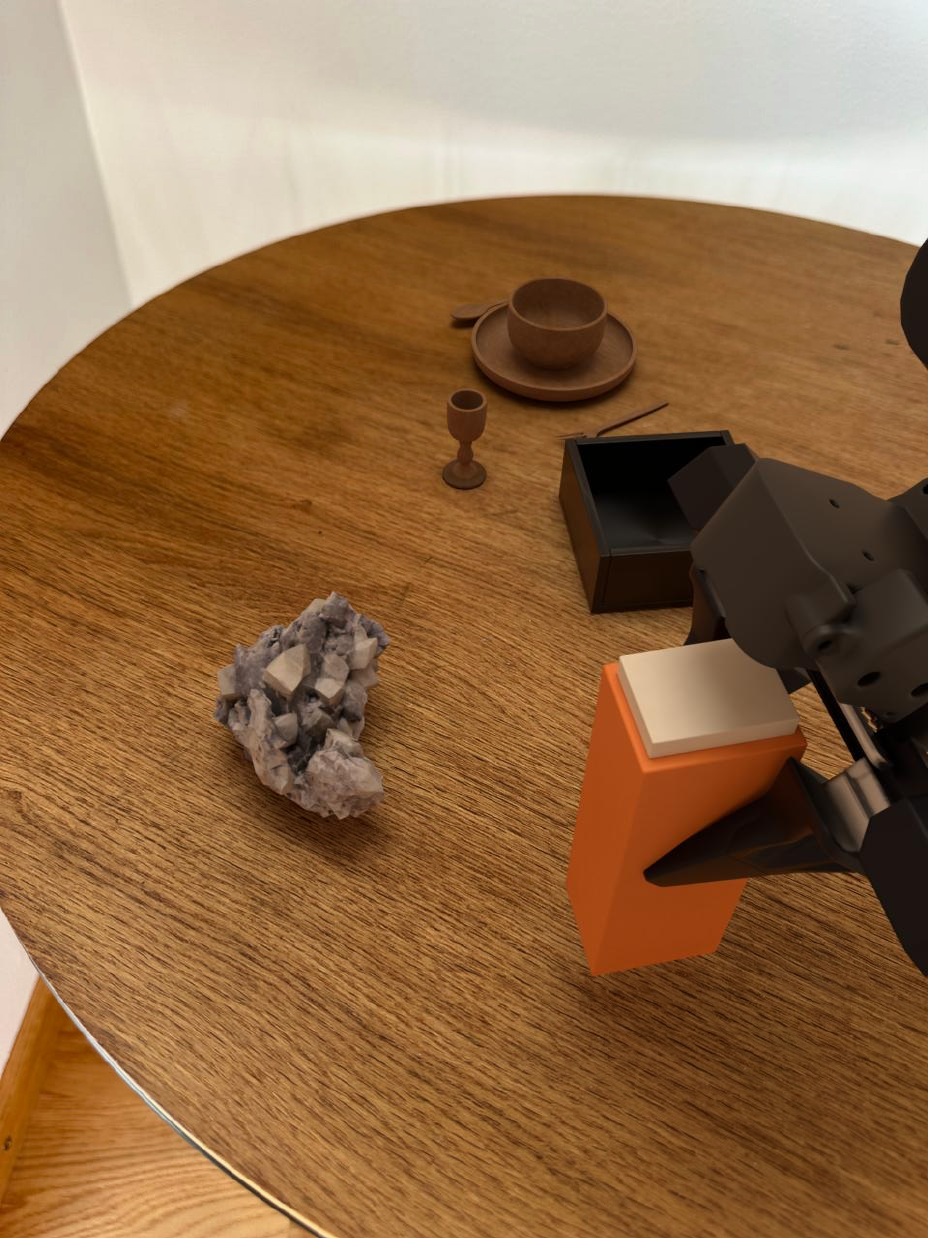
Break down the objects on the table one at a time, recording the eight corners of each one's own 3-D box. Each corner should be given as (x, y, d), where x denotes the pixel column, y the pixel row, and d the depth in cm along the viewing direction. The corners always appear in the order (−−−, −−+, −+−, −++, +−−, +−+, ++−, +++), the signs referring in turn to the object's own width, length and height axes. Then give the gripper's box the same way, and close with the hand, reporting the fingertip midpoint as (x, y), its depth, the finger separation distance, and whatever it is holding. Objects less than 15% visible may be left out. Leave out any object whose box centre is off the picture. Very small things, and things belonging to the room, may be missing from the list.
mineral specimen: (396, 840, 47) (329, 628, 44) (206, 868, 49) (132, 668, 47) (450, 725, 58) (399, 550, 56) (294, 753, 61) (238, 586, 58)
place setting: (697, 397, 76) (714, 323, 71) (463, 499, 68) (466, 424, 63) (545, 284, 85) (551, 214, 81) (324, 363, 77) (318, 289, 73)
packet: (682, 861, 44) (763, 622, 33) (716, 952, 42) (817, 728, 30) (564, 883, 43) (605, 646, 32) (591, 977, 41) (646, 757, 30)
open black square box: (713, 486, 69) (728, 429, 66) (762, 601, 63) (782, 544, 59) (558, 496, 68) (565, 438, 65) (590, 614, 61) (600, 556, 58)
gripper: (789, 210, 31) (416, 535, 38) (1213, 719, 19) (552, 1071, 25) (941, 405, 38) (605, 651, 45) (1322, 869, 26) (783, 1114, 32)
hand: (630, 823), depth 37 cm, fingers closed on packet, 4 cm apart
